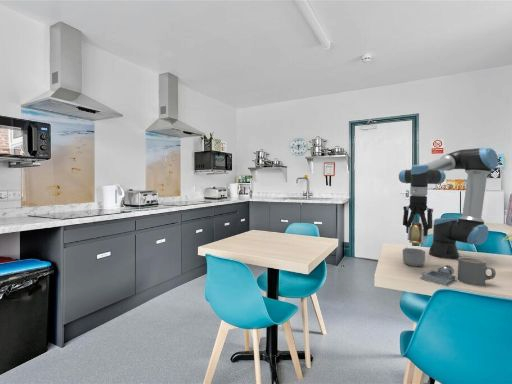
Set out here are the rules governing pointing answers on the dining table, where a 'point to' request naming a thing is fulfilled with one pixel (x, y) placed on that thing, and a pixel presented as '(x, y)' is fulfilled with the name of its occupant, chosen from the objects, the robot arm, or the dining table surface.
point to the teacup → (413, 256)
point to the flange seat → (440, 276)
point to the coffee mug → (473, 271)
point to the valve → (416, 233)
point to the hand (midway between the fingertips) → (416, 240)
